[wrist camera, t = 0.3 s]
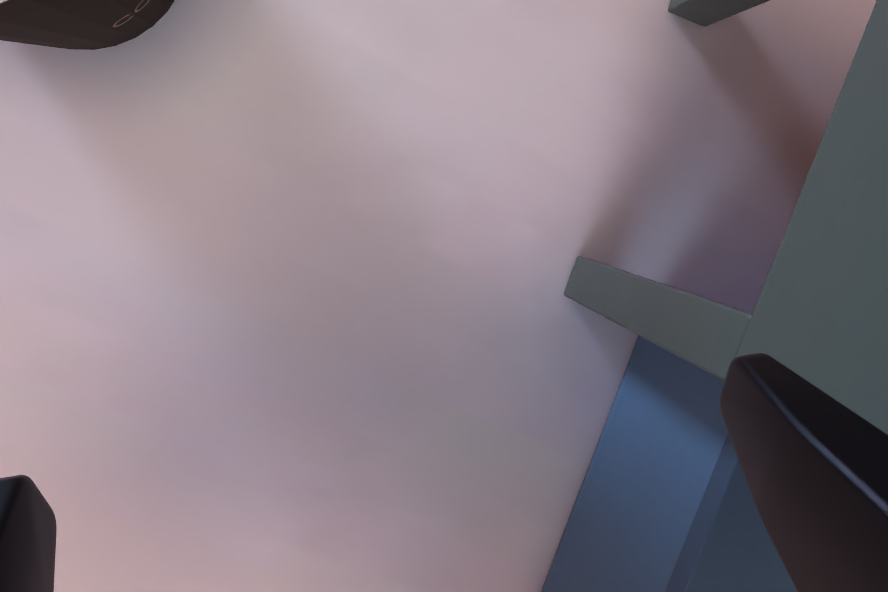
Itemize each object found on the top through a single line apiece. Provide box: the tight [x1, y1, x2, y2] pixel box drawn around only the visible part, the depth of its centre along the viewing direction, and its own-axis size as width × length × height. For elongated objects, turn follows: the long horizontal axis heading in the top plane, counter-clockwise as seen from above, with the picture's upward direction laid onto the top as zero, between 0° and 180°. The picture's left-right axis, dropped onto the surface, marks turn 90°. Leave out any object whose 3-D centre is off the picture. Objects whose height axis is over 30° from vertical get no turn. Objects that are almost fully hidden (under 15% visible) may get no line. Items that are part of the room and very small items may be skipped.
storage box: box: [542, 336, 797, 592], centre depth 23 cm, size 11×9×8 cm
